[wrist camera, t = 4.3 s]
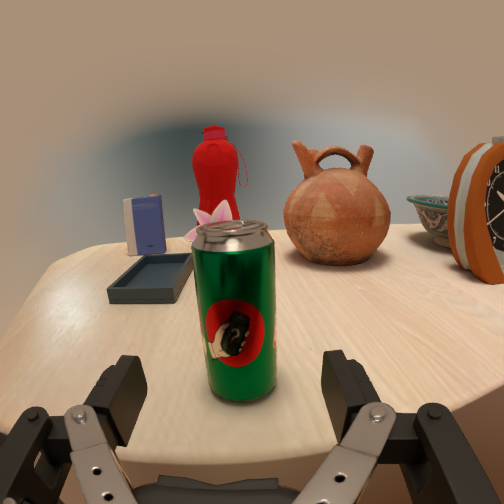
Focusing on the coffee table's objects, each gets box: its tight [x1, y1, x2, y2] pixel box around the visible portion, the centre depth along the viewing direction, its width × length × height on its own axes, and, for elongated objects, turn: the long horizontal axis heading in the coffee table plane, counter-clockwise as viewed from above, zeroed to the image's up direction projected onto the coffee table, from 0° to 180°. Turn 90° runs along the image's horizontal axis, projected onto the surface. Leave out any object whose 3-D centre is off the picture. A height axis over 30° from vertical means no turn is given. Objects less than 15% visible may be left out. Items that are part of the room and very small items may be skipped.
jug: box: [284, 141, 391, 266], centre depth 50 cm, size 18×18×20 cm
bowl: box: [407, 195, 451, 248], centre depth 56 cm, size 25×25×10 cm
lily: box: [184, 200, 232, 242], centre depth 55 cm, size 12×12×10 cm
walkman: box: [122, 194, 167, 256], centre depth 60 cm, size 8×3×12 cm, turn 96°
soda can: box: [191, 220, 277, 402], centre depth 20 cm, size 5×5×12 cm
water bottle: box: [192, 126, 242, 226], centre depth 62 cm, size 9×11×25 cm
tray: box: [107, 253, 193, 304], centre depth 44 cm, size 16×9×2 cm, turn 1°
